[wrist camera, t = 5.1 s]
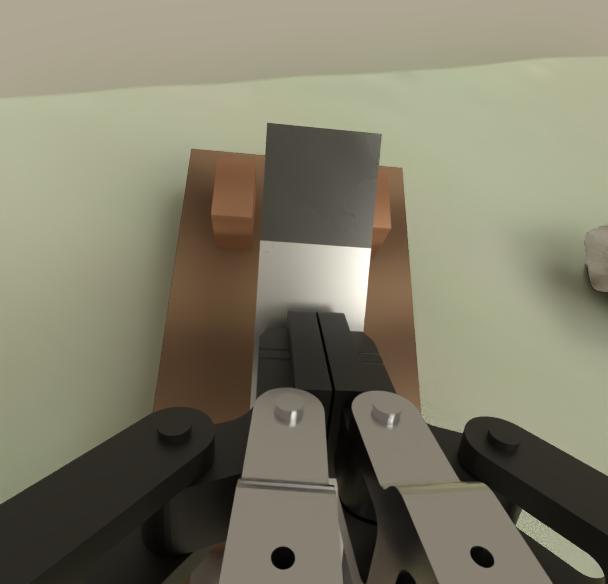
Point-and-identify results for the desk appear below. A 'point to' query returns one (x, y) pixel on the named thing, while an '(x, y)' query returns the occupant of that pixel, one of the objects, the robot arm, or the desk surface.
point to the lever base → (243, 296)
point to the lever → (315, 227)
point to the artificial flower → (597, 257)
